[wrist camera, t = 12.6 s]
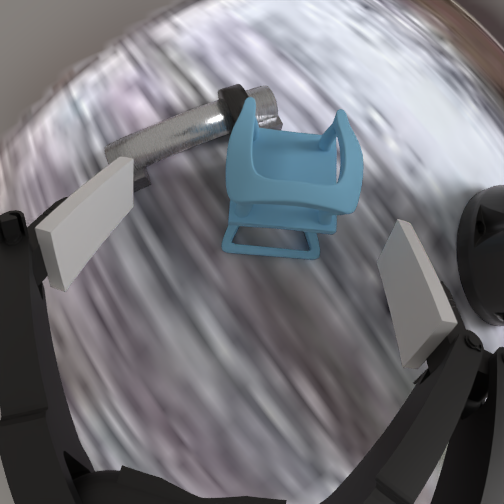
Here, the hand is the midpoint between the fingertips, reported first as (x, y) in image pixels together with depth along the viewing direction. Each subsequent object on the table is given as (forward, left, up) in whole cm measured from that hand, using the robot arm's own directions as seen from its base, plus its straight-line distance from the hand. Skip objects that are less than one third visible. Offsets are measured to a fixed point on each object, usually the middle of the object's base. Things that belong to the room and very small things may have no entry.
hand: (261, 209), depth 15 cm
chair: (-3, -2, -11) cm, 11 cm away
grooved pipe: (+1, -10, -11) cm, 15 cm away
